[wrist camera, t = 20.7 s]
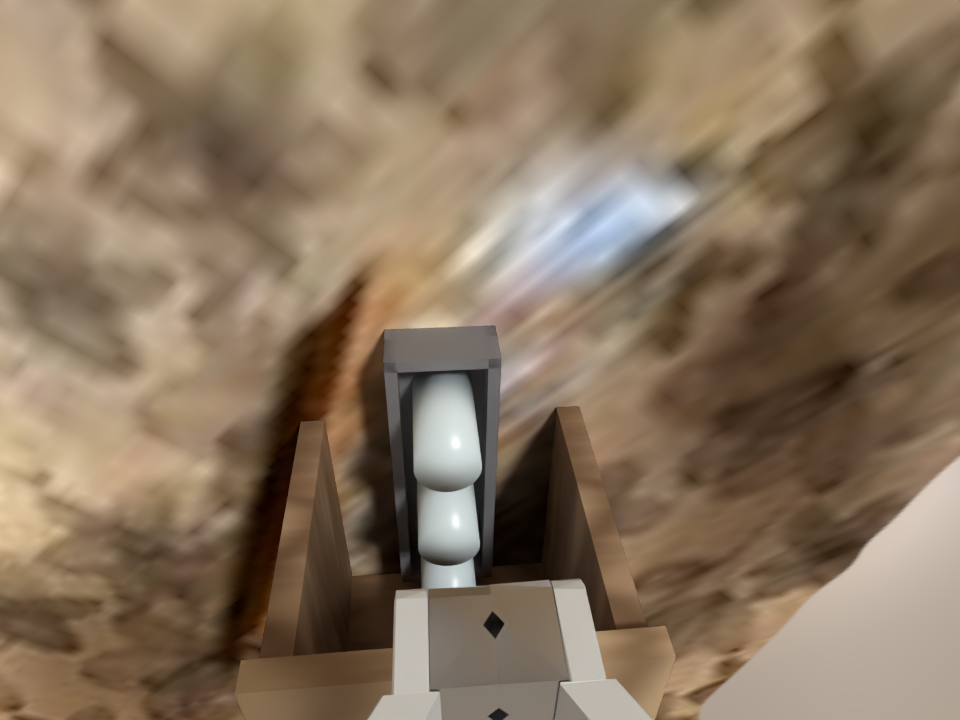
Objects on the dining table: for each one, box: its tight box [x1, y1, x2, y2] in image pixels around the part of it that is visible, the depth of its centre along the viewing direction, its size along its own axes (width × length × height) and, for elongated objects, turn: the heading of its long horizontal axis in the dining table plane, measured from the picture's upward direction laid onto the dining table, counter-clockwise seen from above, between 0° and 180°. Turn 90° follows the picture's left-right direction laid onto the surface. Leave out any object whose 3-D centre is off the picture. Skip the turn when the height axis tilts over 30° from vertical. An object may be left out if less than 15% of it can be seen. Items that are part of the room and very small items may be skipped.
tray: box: [383, 326, 501, 589], centre depth 43 cm, size 6×20×8 cm, turn 179°
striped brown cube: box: [235, 406, 676, 720], centre depth 42 cm, size 19×19×18 cm
